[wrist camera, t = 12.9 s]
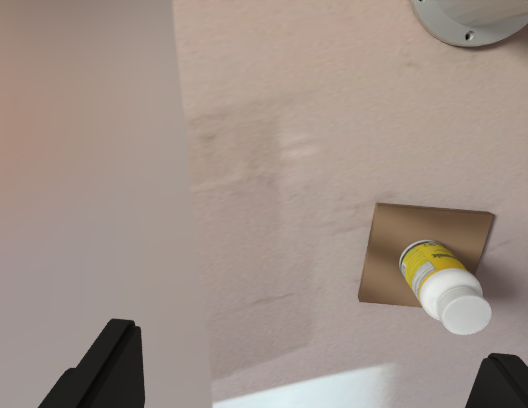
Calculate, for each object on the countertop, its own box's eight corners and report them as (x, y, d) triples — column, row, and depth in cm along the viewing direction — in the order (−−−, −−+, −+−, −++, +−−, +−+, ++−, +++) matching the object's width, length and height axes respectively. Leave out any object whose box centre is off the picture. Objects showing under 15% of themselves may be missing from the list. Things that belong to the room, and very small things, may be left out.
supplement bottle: (459, 253, 38) (515, 309, 29) (425, 289, 39) (469, 353, 30) (420, 228, 37) (465, 278, 28) (387, 266, 39) (420, 324, 30)
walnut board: (376, 202, 37) (378, 205, 36) (488, 211, 37) (493, 215, 36) (357, 296, 41) (359, 301, 40) (458, 305, 41) (462, 311, 40)
